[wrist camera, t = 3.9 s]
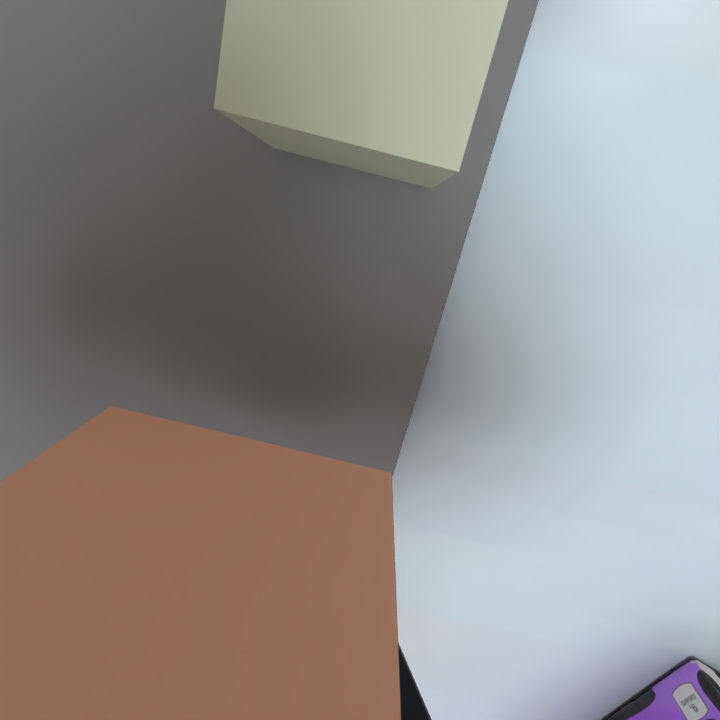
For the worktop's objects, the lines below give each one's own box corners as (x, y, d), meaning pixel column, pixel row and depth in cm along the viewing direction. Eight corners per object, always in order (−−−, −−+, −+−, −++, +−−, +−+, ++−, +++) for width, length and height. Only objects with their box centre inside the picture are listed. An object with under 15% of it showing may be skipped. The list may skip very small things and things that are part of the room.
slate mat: (333, 660, 20) (332, 671, 20) (-114, 560, 20) (-126, 569, 19) (543, -25, 12) (549, -35, 12) (-220, -235, 11) (-245, -254, 11)
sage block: (431, 188, 13) (459, 171, 9) (273, 148, 13) (213, 108, 9) (483, -2, 12) (551, -150, 7) (306, -51, 12) (254, -235, 7)
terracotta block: (330, 670, 9) (275, 1154, 4) (97, 619, 9) (-219, 1061, 4) (391, 472, 8) (406, 891, 3) (111, 405, 7) (-358, 730, 3)
